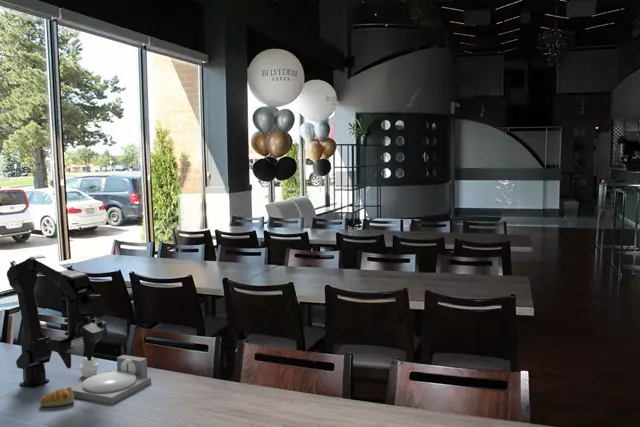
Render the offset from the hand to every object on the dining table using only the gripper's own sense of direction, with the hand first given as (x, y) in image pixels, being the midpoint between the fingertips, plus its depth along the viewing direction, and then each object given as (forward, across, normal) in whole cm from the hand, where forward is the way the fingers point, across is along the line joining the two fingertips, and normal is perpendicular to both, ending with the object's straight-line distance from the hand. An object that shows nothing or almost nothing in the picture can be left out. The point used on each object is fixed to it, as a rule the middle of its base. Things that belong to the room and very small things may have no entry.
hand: (79, 364), depth 175 cm
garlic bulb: (+10, +14, +11) cm, 20 cm away
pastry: (+11, -7, +5) cm, 14 cm away
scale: (+10, +8, -4) cm, 14 cm away
